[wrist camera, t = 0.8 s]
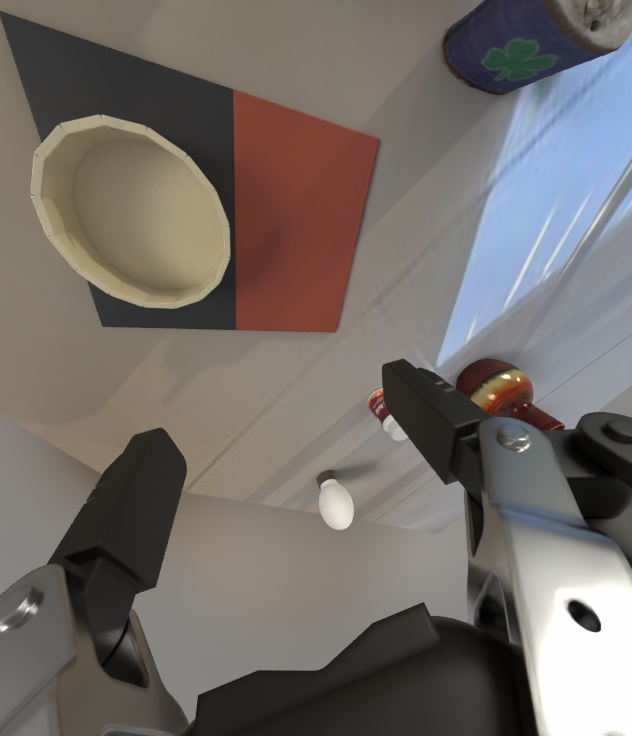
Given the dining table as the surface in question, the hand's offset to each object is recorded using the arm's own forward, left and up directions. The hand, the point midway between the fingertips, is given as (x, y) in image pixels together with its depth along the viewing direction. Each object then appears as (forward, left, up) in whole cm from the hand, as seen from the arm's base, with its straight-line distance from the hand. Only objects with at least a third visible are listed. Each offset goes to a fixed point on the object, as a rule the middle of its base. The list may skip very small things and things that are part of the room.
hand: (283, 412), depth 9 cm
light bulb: (+17, -42, -22) cm, 50 cm away
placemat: (-1, +3, -22) cm, 22 cm away
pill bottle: (+23, -20, -22) cm, 38 cm away
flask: (+20, +20, -22) cm, 36 cm away
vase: (+44, -16, -22) cm, 52 cm away
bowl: (-8, +3, -22) cm, 23 cm away
